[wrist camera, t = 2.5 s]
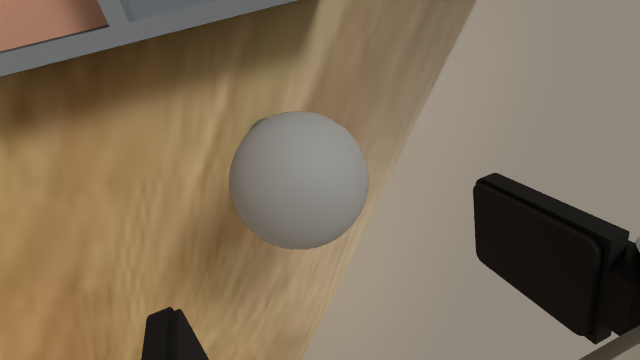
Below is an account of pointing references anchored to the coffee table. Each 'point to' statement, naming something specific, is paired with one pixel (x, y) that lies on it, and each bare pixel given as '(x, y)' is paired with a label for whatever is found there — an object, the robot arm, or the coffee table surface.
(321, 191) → the lightbulb
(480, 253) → the robot arm
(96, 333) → the coffee table surface
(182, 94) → the coffee table surface
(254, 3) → the sorting tray
